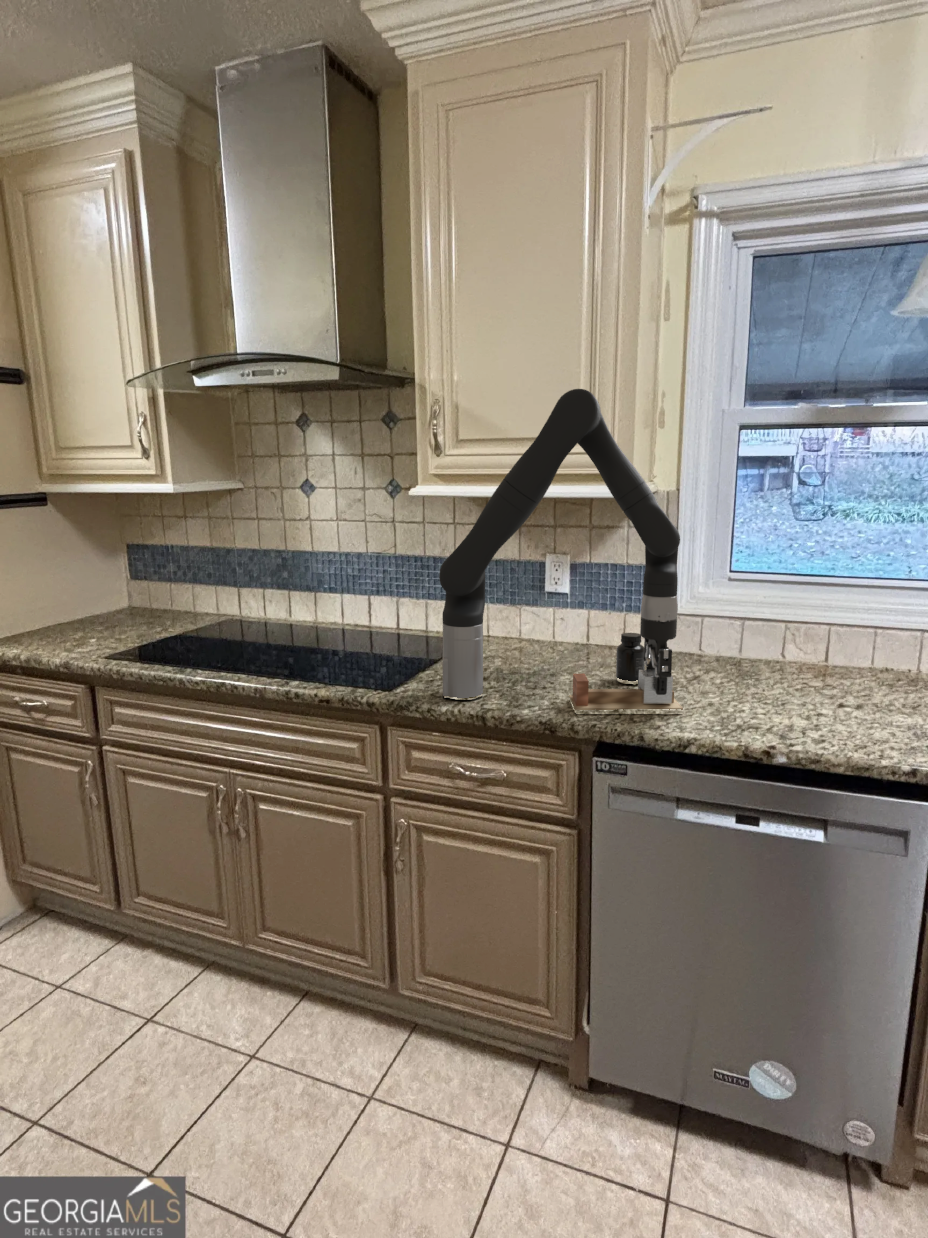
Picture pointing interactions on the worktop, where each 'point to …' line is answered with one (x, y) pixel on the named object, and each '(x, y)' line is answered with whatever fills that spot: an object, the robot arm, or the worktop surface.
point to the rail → (626, 706)
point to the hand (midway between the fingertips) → (655, 688)
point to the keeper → (653, 688)
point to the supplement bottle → (630, 657)
